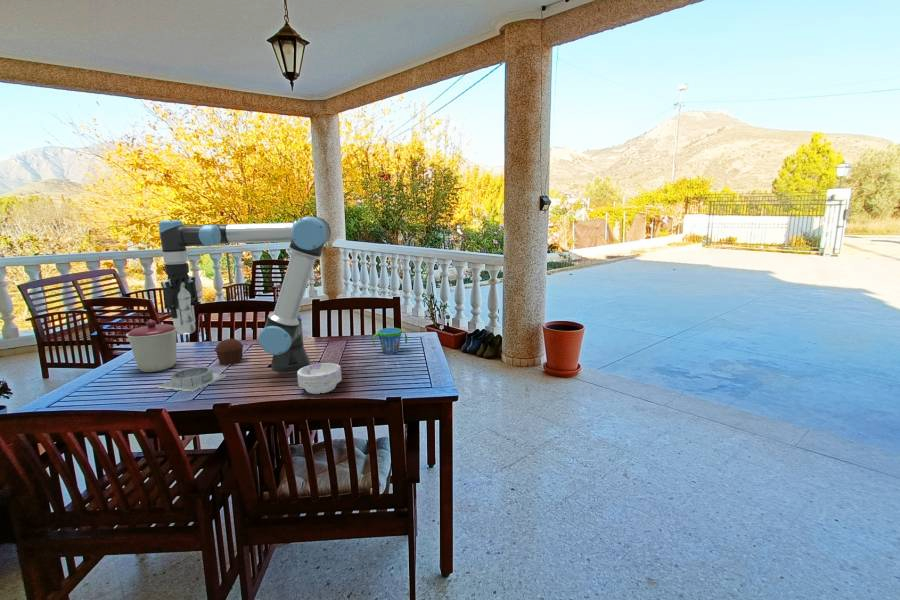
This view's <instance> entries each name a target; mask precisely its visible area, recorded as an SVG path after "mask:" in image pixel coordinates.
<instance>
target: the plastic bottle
mask: <svg viewBox="0 0 900 600" xmlns="http://www.w3.org/2000/svg"><path fill="white" fill-rule="evenodd" d="M177 309H179V311H180V318H181V325H182V326H181V327H175V329H176V334H178V335H189V334H193V333H195V331H196V322H194V321H193V317H192V313H191V295H190V293H189V291H188V290H187V289H186V288H185V282H182V283H181V288H180V291H179V293H178V305H177Z"/></svg>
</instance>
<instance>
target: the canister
mask: <svg viewBox="0 0 900 600" xmlns="http://www.w3.org/2000/svg"><path fill="white" fill-rule="evenodd" d="M125 336H126V338H128V341H129V344H130V348H131V351H132V355H133V357H134V359H135V360H134V361H135V363H136V365H137V367H138V369H139V371H141V372H144V373H155V372H161V371H165V370H169V369H171V368H173V367H174V366H175V364H176V363H177V332H176V329H175V327H174V324H169V323H162V324H161V323H158V324H157V320H154V319H150V320H147V321H146V322H145V325H143V326H139V327H135V328H134V329H131V330H130V331H128V332H126V334H125Z"/></svg>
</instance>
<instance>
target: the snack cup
mask: <svg viewBox="0 0 900 600" xmlns="http://www.w3.org/2000/svg"><path fill="white" fill-rule="evenodd" d="M402 333H403V334H404V337H405V341H404V343H405V344H407V343H408V335H407V333H406V331H404V330H402V329H401V328H398V327H386V328H385V327H384V328H382V329H379V330H378V331H377V332H376V333H374V335H373V337H372V345H373V347H376V345H375V338H376V337H377V336H378V339H379V341H380V345H381V350H382V353H383V354H386V353H392V354H396V353H398V352H399V351H400V344H401V343H400V342H401V336H402V335H401V334H402ZM395 352H396V353H395Z"/></svg>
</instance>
